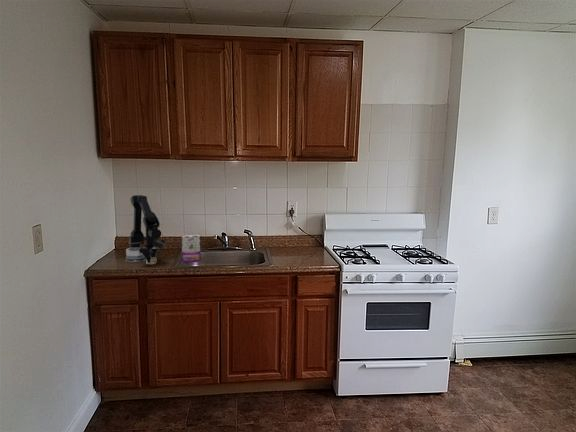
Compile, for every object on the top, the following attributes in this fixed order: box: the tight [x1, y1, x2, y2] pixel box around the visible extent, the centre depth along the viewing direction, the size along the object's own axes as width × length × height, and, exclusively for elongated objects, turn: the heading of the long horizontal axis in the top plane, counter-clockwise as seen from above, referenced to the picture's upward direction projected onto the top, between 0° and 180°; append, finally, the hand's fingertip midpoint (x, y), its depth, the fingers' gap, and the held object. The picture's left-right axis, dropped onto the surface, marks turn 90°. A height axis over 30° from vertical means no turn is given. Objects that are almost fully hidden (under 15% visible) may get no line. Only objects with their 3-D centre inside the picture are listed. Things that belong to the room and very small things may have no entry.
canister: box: [125, 246, 146, 264], centre depth 232 cm, size 12×12×7 cm
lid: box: [145, 256, 158, 265], centre depth 227 cm, size 6×6×3 cm
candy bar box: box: [181, 234, 202, 264], centre depth 232 cm, size 11×5×16 cm, turn 106°
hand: (151, 261), depth 227 cm, fingers closed on lid, 6 cm apart
